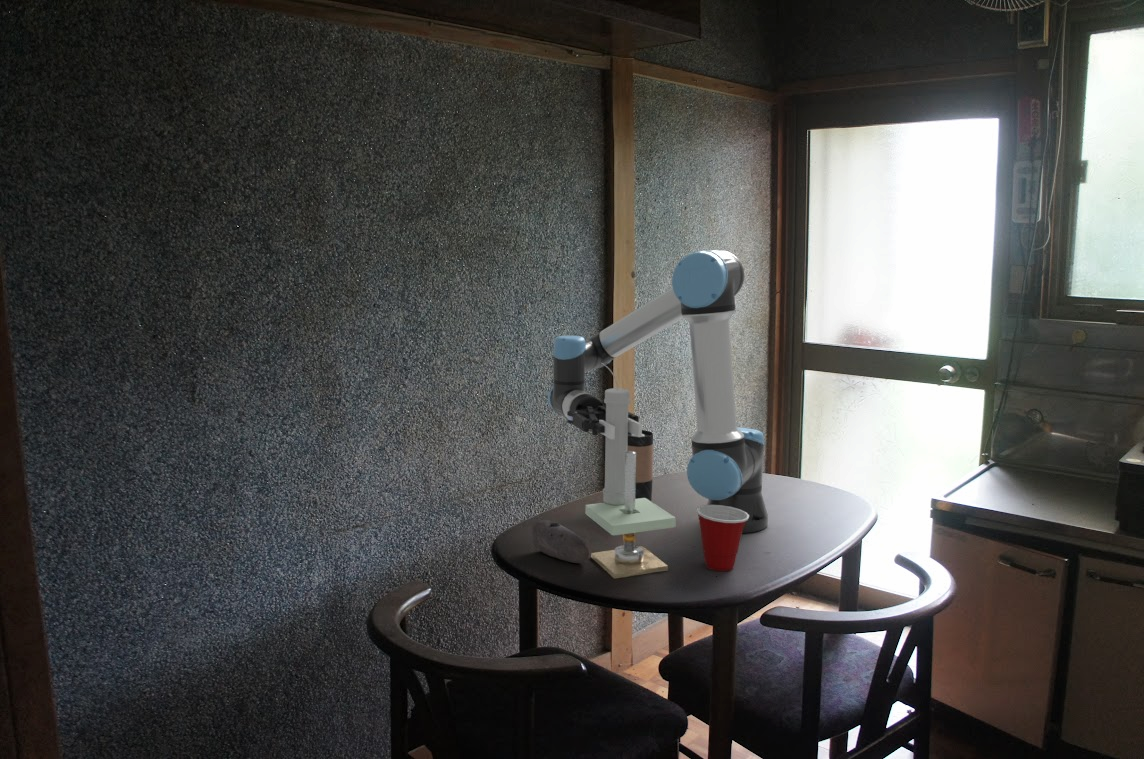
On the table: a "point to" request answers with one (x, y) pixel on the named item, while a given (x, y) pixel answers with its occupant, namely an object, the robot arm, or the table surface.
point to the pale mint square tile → (630, 517)
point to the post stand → (629, 538)
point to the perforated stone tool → (559, 542)
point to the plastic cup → (721, 534)
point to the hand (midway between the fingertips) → (626, 431)
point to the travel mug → (643, 463)
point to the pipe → (616, 444)
